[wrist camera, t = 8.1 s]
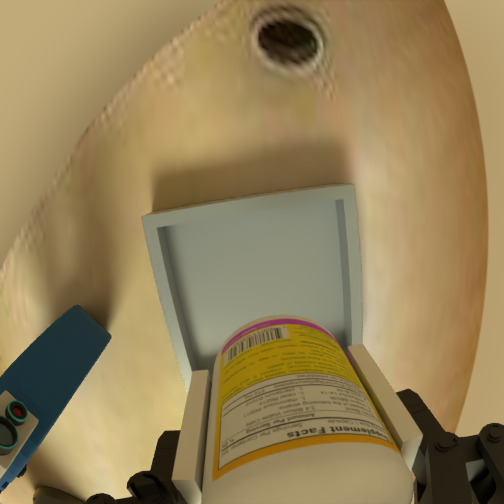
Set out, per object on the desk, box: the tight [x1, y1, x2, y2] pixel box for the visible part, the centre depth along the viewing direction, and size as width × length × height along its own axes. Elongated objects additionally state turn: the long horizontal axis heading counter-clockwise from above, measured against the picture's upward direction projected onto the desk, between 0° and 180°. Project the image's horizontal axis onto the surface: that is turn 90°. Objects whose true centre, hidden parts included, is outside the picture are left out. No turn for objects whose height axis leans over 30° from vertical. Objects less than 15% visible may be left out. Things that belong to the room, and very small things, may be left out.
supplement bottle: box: [201, 315, 414, 504], centre depth 10 cm, size 7×7×13 cm
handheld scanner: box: [0, 305, 111, 493], centre depth 19 cm, size 5×16×20 cm, turn 135°
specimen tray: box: [142, 183, 363, 393], centre depth 26 cm, size 16×16×3 cm
